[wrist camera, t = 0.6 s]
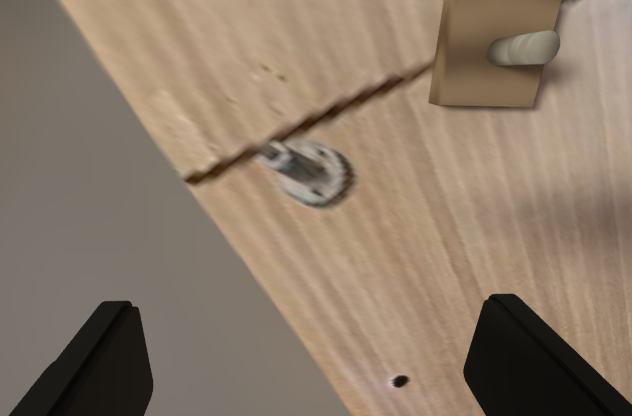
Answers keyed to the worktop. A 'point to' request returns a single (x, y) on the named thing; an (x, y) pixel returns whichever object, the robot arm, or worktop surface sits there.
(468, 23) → the shaft block
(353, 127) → the worktop surface
